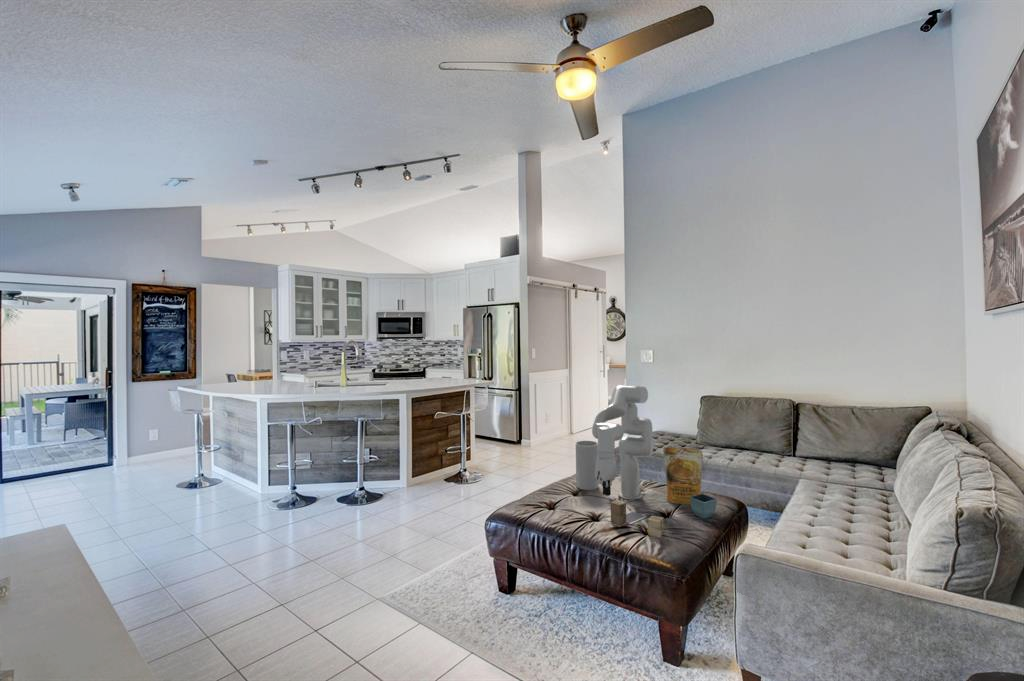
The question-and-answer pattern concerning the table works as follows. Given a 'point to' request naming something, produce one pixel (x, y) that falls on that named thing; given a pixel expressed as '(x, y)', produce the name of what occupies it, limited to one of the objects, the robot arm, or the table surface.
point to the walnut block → (618, 513)
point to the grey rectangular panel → (633, 517)
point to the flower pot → (703, 505)
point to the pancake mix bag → (682, 474)
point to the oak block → (655, 526)
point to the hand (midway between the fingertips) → (606, 494)
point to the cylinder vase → (586, 465)
